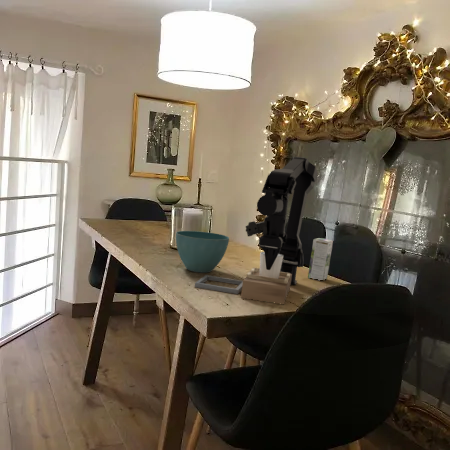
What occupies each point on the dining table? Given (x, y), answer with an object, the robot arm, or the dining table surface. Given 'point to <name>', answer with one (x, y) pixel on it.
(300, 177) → the robot arm
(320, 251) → the syrup box
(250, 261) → the dining table surface
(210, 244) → the teal round bowl
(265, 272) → the shot glass
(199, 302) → the dining table surface
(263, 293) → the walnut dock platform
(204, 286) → the grey square frame
